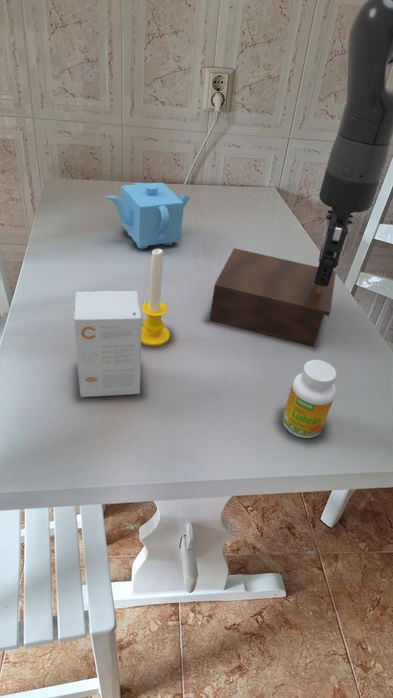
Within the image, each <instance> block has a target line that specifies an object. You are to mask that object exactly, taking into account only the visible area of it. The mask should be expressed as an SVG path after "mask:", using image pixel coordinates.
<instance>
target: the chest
mask: <svg viewBox="0 0 393 698" xmlns="http://www.w3.org/2000/svg"><path fill="white" fill-rule="evenodd" d="M210 308H211V309H210V314H209V322H213V323H218V324H222V325H225V326H229V327H233V328H237V329H240V330H245V331H249V332H253V333H258V334H260V335H261V334H262V335H265V336H269V337H273V338H275V339H276V338H277V339H281V340H285V341H289V342H293V343H296V344H300V345H304V346H307V347H312V348H314V346H315V343H316V341H317V337H318V335H319V334H318V333H319V331H320V329H321V326H322V322H323V319H324V316H325V315H322V314H318V313H314V312H309V311H305V310H301V309H297V308H293V307H289V306H284V305H280V304H276V303H272V302H268V301H264V300H260V299H255V298H251V297H247V296H243V295H239V294H235V293H231V292H226V291H222V290H218V289H214V288H213V293H212V301H211V307H210Z"/></svg>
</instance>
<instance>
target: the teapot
mask: <svg viewBox="0 0 393 698" xmlns="http://www.w3.org/2000/svg"><path fill="white" fill-rule="evenodd" d="M104 198H106V199H108V200H110V201H112V203H113V204H114V205H115V208H116V211H117V215H118V217H119V219H120V224H121V226H122V227H123V229H125V231H126V232H127V235H128V236H130V237H131V239H132V240H133V241H134V243H135V244H136V247H137V248H139V249H147V248H148V247H149V246H155V245H161V244H162V245H164V246H172V245H173V243H177V242H181V239H182V229H183V217H184V208H185V207H186V205H187V204H188V202H189V200H190V198H191V197H190V196H189V195H188V194H185V193H181V195H180V196H179V197H178V196H177V195H176V194H175V193H174V192H173V190H171V189H170V188H169V187H168V186H167V185H166V184H165V183H164V182H162V181H161V182H150V183H149V182H147V183H144V182H143V183H142V182H133V183H132V184H125V185H121V186H120V197H119V196H117V195H115V194H114V195H113V194H111V195H104Z"/></svg>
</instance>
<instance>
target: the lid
mask: <svg viewBox="0 0 393 698" xmlns="http://www.w3.org/2000/svg"><path fill="white" fill-rule="evenodd" d="M325 256H328V255H325ZM317 270H318V266H315V265H310V264H306V263H303V262H298V261H292V260H289V259H285V258H280V257H275V256H270V255H266V254H261V253H259V252H258V253H257V252H252V251H250V250H249V251H248V250H245V249H239V248H236V247H235V248H233V249H232V251H231V253H230V254H229V256H228V258H227V260H226V262H225V264H224V266H223V268H222V270H221V271H220V274H219V275H218V278H217V279H216V281H215V283H214V287H213V290H214V289H218V290H222V291H226V292H231V293H235V294H239V295H243V296H247V297H251V298H255V299H260V300H264V301H268V302H272V303H276V304H280V305H284V306H289V307H293V308H297V309H301V310H305V311H309V312H314V313H318V314H322V315H324V316H327V317H329V316H330V314H331V310H332V302H333V296H334V289H335V288H334V287H335V282H336V281H335V280H336V274H337V271H336V270H333V272H332V275H331V279H330V282H329V285H328V286H326V287H325V286H320V285H316V284H315V283H314V280H315V276H316V273H317Z"/></svg>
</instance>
